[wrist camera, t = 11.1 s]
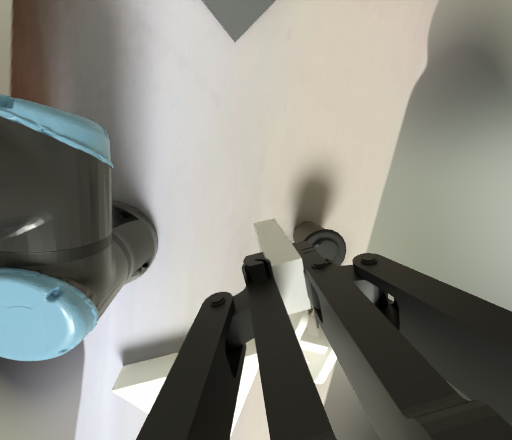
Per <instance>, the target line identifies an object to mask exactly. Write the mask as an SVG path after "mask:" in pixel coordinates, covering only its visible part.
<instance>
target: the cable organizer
mask: <svg viewBox="0 0 512 440" xmlns="http://www.w3.org/2000/svg"><path fill="white" fill-rule="evenodd" d="M310 305H311V307H312V308H313V305H312V303H311V302H310ZM289 318H290V320H291V323H292V326H293V328H294V331H295V333H296V336H297V339H298V341H299V344H300V347H301V349H302V352H303V354H304V357H305V360H306V362H307V365H308V368H309V370H310V373H311V375H312V378H313V381H314V383H318V384H322V383H323V382H324V381H325V379H326V378H327V376H328V374H329V372H330V370H331V368H332V366H334V363H335V361H336V359H337V357H336V355H335V353H334V351H333V349H332V347H331V345H330V344H329V342H328V340H327V338H326V336H325V334H324V332H323V330H322V328H321V326H320V325H319V328H318V329H317V326H316V321H315V315H314V310H313V311H312V313H311V315H309V314H308V310H304V311H300V312H297V313H293V314H289Z"/></svg>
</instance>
